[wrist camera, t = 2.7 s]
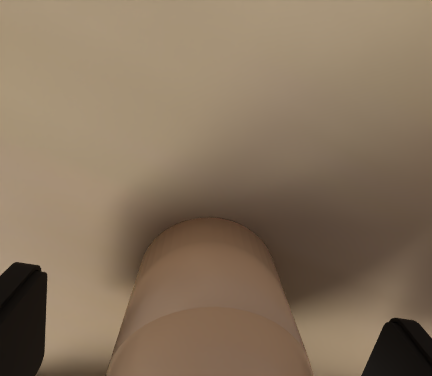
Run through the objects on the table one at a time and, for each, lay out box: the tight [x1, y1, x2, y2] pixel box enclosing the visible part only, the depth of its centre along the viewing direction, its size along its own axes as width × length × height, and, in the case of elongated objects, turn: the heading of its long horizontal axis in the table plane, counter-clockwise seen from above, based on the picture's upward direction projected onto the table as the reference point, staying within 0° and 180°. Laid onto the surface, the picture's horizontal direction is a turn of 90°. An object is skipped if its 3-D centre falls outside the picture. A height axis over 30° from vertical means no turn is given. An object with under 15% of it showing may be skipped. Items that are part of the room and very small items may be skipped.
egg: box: [106, 217, 314, 376], centre depth 8 cm, size 4×4×6 cm
